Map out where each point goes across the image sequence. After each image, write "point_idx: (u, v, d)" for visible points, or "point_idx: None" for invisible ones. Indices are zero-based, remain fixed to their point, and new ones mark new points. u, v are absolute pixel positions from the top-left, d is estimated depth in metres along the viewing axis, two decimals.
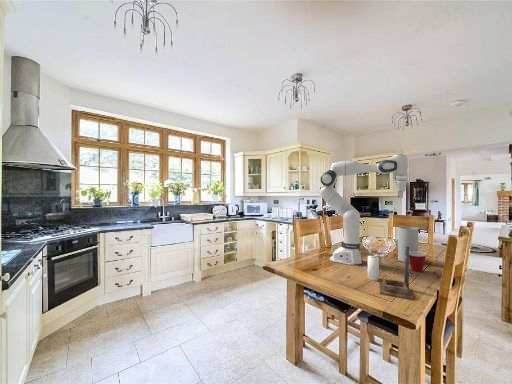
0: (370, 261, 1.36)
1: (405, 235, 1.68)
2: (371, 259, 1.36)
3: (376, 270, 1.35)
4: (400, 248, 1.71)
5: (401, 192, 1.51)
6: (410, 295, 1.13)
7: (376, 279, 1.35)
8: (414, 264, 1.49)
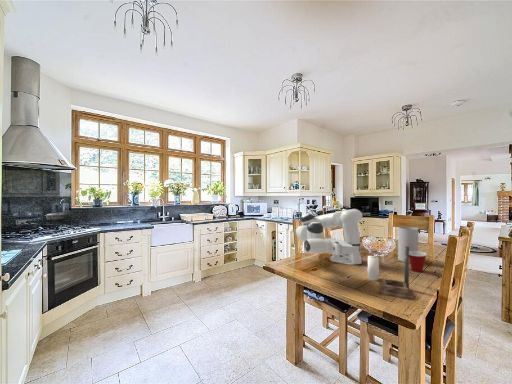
0: (370, 261, 1.36)
1: (405, 235, 1.68)
2: (371, 259, 1.36)
3: (376, 270, 1.35)
4: (400, 248, 1.71)
5: None
6: (410, 295, 1.13)
7: (376, 279, 1.35)
8: (414, 264, 1.49)
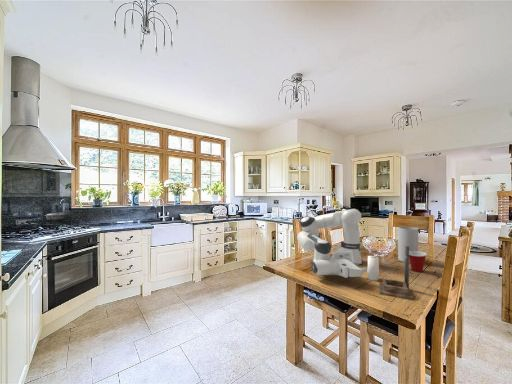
0: (370, 261, 1.36)
1: (405, 235, 1.68)
2: (371, 259, 1.36)
3: (376, 270, 1.35)
4: (400, 248, 1.71)
5: None
6: (410, 295, 1.13)
7: (376, 279, 1.35)
8: (414, 264, 1.49)
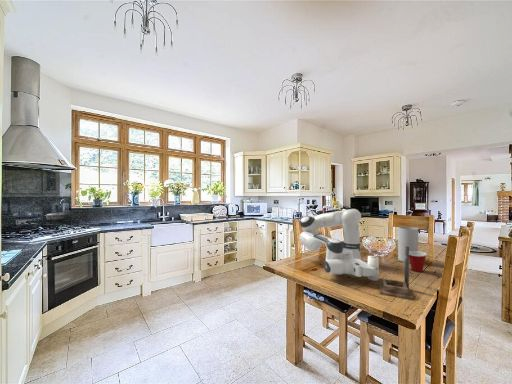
0: (370, 261, 1.36)
1: (405, 235, 1.68)
2: (371, 259, 1.36)
3: (376, 270, 1.35)
4: (400, 248, 1.71)
5: None
6: (410, 295, 1.13)
7: (376, 279, 1.35)
8: (414, 264, 1.49)
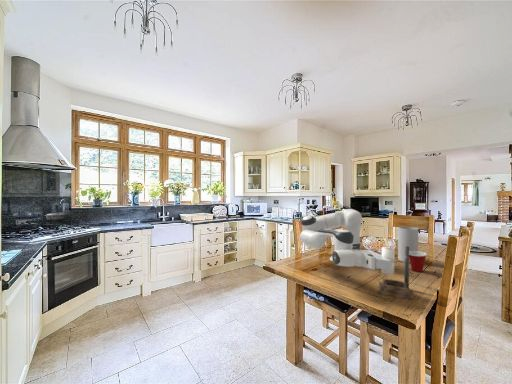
0: (385, 253, 1.21)
1: (405, 235, 1.68)
2: (386, 250, 1.21)
3: (391, 263, 1.20)
4: (400, 248, 1.71)
5: None
6: (410, 295, 1.13)
7: (391, 273, 1.20)
8: (414, 264, 1.49)
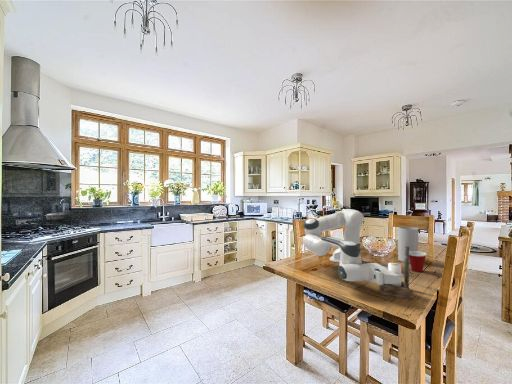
0: (391, 269, 1.19)
1: (405, 235, 1.68)
2: (392, 267, 1.19)
3: None
4: (400, 248, 1.71)
5: None
6: (410, 295, 1.13)
7: None
8: (414, 264, 1.49)
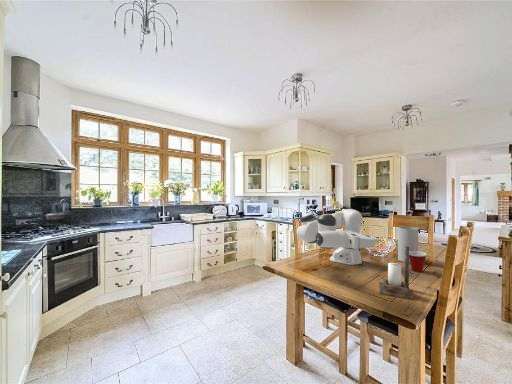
0: (391, 269, 1.19)
1: (405, 235, 1.68)
2: (393, 267, 1.19)
3: (398, 279, 1.18)
4: (400, 248, 1.71)
5: None
6: (410, 295, 1.13)
7: None
8: (415, 264, 1.49)
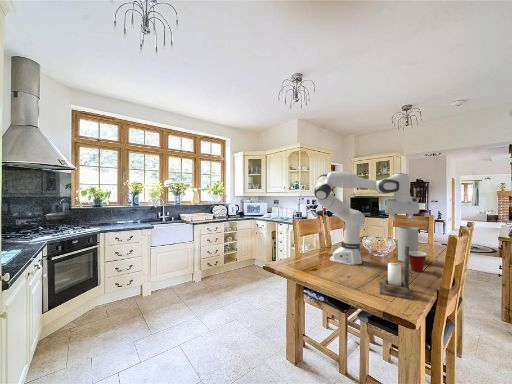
0: (391, 269, 1.19)
1: (405, 235, 1.68)
2: (392, 267, 1.18)
3: (398, 279, 1.18)
4: (400, 248, 1.71)
5: None
6: (410, 295, 1.13)
7: None
8: (415, 264, 1.49)
